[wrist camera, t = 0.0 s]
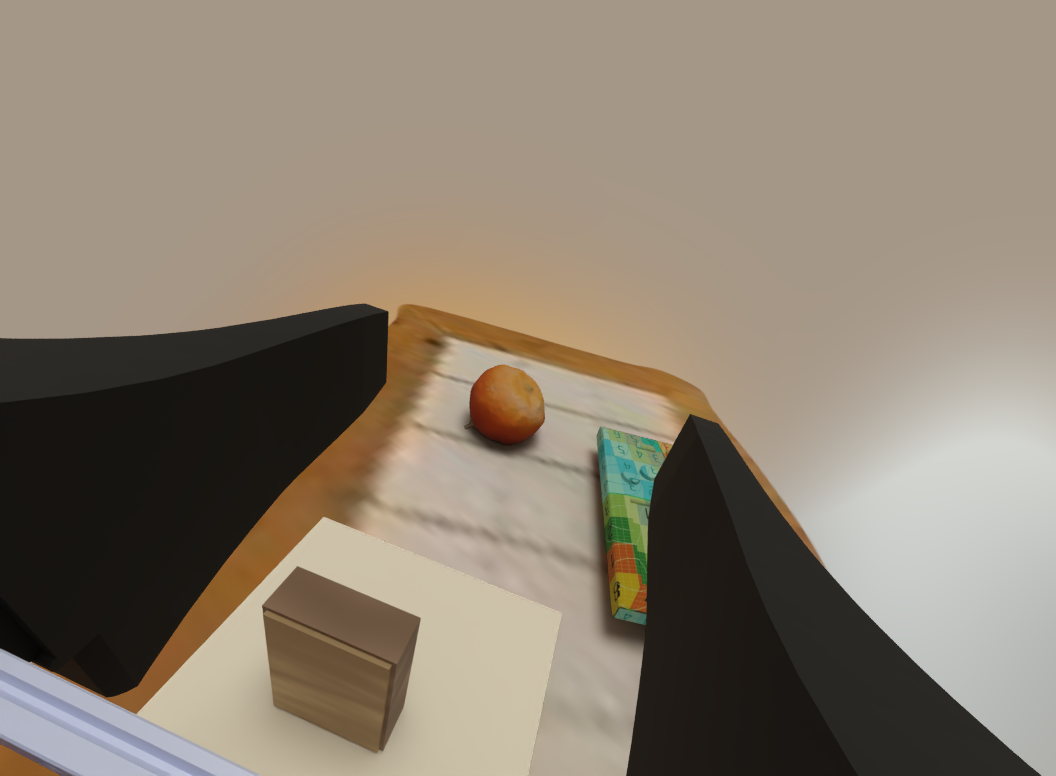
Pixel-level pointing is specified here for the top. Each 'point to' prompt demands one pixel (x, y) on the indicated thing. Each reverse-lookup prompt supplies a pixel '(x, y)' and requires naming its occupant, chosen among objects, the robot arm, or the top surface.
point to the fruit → (506, 405)
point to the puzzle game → (628, 515)
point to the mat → (434, 684)
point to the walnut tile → (339, 657)
